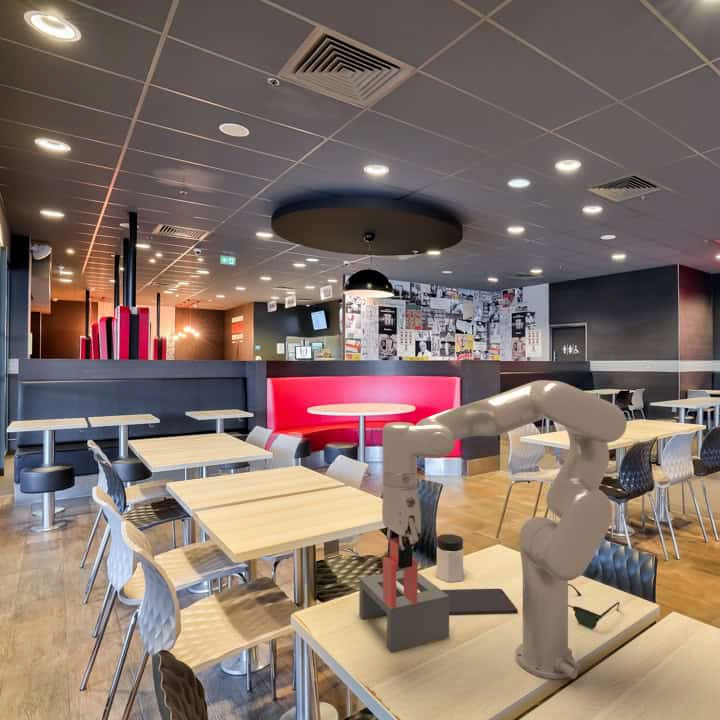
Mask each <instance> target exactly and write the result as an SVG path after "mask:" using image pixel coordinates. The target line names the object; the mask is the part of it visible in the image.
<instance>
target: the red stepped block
mask: <svg viewBox="0 0 720 720" xmlns="http://www.w3.org/2000/svg"><path fill="white" fill-rule="evenodd" d="M405 540H406V538H404V542H405ZM389 542H390V557H388V556H386V557H383V558H382V574H383V601H384V602H385V603H386V604H387V605H388V606H389V607H390V608H395V607H396V571H398V570H404V596H405V597H406V598H407V599H408V600H409V601H410V602H411V603H417V593H418V589H417V572H418V559H417V558H415V557H414V556H412V566H411V567H406V568H401V569H400V568H399V567H398V549H400V542H399V537H398V538H392V539H390V541H389Z"/></svg>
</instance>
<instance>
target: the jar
mask: <svg viewBox="0 0 720 720" xmlns="http://www.w3.org/2000/svg"><path fill="white" fill-rule="evenodd" d="M436 546H437V547H436V578H437V579H439V580H441V581H444V582H447V583H456V582H463V579H464V578H463V577H464V538H462V537H461V536H459V535H456V534H450V533H449V534H440V535H438V536H437V537H436Z"/></svg>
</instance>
